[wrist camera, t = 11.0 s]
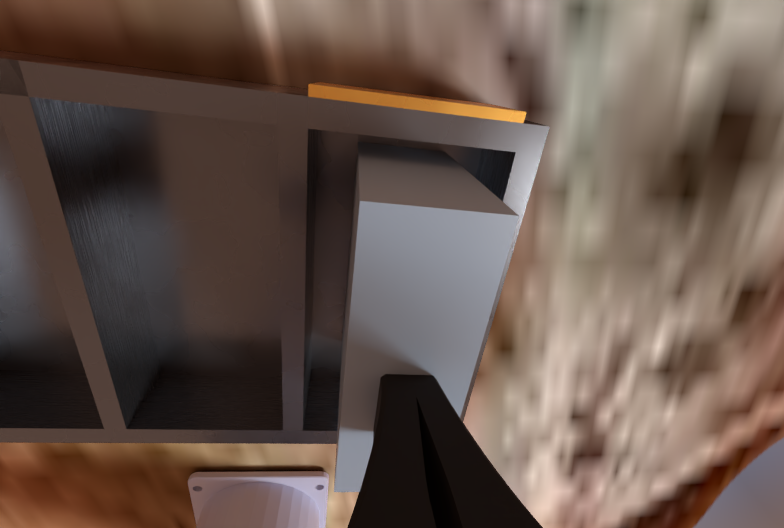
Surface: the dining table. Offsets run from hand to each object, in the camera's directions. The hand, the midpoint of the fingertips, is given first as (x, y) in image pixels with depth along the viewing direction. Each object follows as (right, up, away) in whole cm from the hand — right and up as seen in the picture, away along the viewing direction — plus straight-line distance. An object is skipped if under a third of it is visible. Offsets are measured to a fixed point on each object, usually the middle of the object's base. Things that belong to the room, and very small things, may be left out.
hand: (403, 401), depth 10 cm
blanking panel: (0, +4, +6) cm, 7 cm away
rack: (-7, +4, +6) cm, 10 cm away
